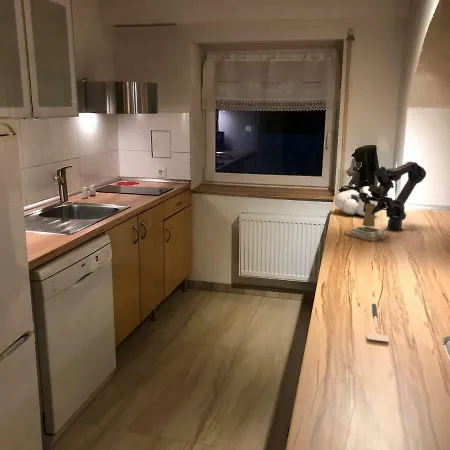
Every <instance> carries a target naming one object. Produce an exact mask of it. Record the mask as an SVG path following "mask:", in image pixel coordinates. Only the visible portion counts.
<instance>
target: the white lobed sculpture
mask: <svg viewBox="0 0 450 450" xmlns="http://www.w3.org/2000/svg"><path fill="white" fill-rule="evenodd" d="M368 189H369V186H368V185H367V186H363V187H362V188H361V189H360V190H359V192H358V191H357V190H355V189H348V190H345V191H341V192H339V193H337V194H336V196H335V197H334V205H335V207H336V208H337V209H339V210H342V212H343V213H345V214H346V215H350V216H354V215H356V214H357V215H359V216H362V217H364V216H365V212H363V209H364V204H365V203H364V202H362V201H361V199H360V197H359V196H358V195H359V194H360V192H365V193H368V195H369V196H371V197H372V195H371V194H370V193H371V192H370V191H368ZM370 203H371V204H374V205H375V206H376V205H377V203H378V202H375V201H371V202H370Z"/></svg>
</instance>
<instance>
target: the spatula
mask: <svg viewBox="0 0 450 450" xmlns="http://www.w3.org/2000/svg"><path fill="white" fill-rule="evenodd" d="M371 308H372V317H373V319H374V322H373V323H374V328H375V327H376V328H379V327H378V309H377V303H372V304H371ZM365 334H366V336H365V337H366V339H367V340H370V341H372V340H373V341H378V342H387V343H388V342H390V339H389V336H388V335H385V334H376V333H371V332H370V333H369V332H367V333H365Z"/></svg>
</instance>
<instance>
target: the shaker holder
mask: <svg viewBox="0 0 450 450" xmlns="http://www.w3.org/2000/svg"><path fill="white" fill-rule="evenodd" d="M344 235H346V236H349V237H352V238H356V239H360V240H364V241H368V242H375V241H379V240H383V239H387V238H390V235H388V234H385V233H384V229H381V228H380V229H379V228H375V227H368V226H364V225H362V226H357V227H353V228H351V229H350V231H347V232H344Z"/></svg>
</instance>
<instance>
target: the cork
mask: <svg viewBox="0 0 450 450" xmlns="http://www.w3.org/2000/svg"><path fill="white" fill-rule="evenodd" d="M375 207H376V206H375V205H374V204H366V205H365V209H366V212H365V216H363V220H362V226H368V227H372V228H374V227H375V225H376V224H375V223H376V222H375V214H372V212H373V210H374V209H375Z"/></svg>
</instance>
